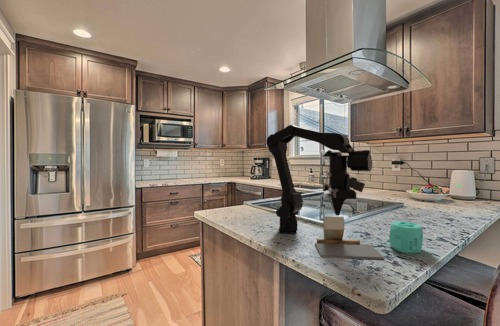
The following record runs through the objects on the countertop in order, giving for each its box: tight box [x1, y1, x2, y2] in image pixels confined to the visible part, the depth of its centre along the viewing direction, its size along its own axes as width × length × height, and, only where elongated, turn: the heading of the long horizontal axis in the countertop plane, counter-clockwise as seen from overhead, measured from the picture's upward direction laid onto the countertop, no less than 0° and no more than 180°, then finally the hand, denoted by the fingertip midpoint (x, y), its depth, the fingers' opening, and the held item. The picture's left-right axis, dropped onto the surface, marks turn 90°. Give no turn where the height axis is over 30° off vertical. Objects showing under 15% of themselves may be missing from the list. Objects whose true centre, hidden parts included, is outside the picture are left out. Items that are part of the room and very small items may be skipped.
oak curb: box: [316, 238, 361, 244], centre depth 81 cm, size 14×1×2 cm, turn 86°
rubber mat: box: [314, 242, 385, 260], centre depth 75 cm, size 18×10×1 cm, turn 86°
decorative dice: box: [388, 221, 424, 255], centre depth 78 cm, size 8×8×8 cm
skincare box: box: [323, 216, 345, 240], centre depth 80 cm, size 6×4×12 cm
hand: (337, 215), depth 83 cm, fingers closed
